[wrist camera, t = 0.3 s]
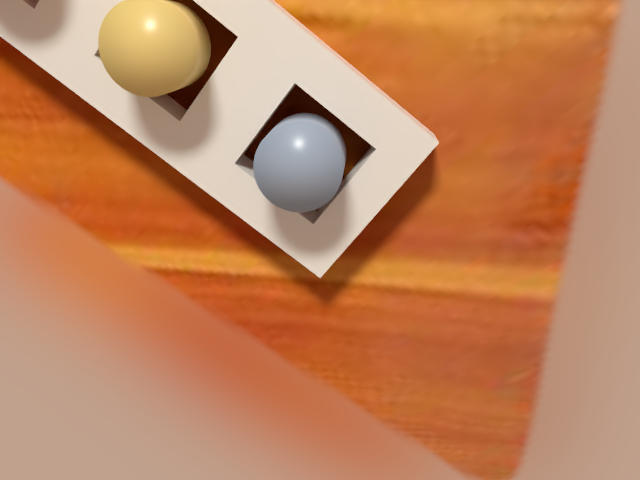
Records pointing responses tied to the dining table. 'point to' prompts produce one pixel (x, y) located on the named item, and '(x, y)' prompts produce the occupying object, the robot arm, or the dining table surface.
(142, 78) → the mustard button
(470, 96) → the dining table surface
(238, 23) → the panel
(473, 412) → the dining table surface
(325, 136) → the blue button
